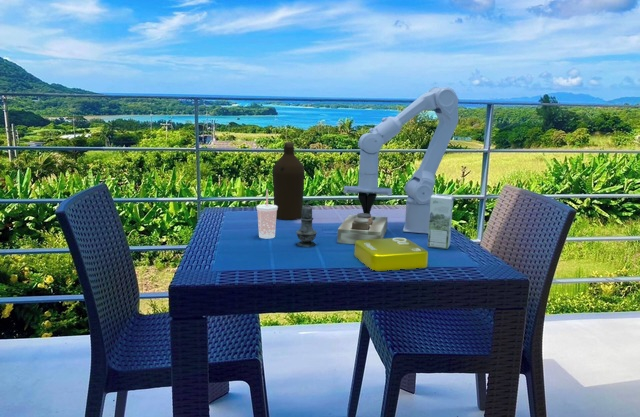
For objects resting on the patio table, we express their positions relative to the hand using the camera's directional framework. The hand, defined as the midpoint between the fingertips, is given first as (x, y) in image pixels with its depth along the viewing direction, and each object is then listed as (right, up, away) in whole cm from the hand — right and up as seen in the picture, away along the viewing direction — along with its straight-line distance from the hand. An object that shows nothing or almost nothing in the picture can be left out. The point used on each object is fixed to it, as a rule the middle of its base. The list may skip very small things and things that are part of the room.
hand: (366, 217), depth 173 cm
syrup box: (+19, -8, -15) cm, 25 cm away
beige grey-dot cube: (-1, -3, -6) cm, 7 cm away
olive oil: (-25, 0, +18) cm, 31 cm away
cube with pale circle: (-3, -4, -12) cm, 13 cm away
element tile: (+3, -11, -29) cm, 31 cm away
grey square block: (-1, -5, -5) cm, 8 cm away
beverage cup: (-30, -6, -8) cm, 31 cm away
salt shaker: (-18, -7, -16) cm, 25 cm away
